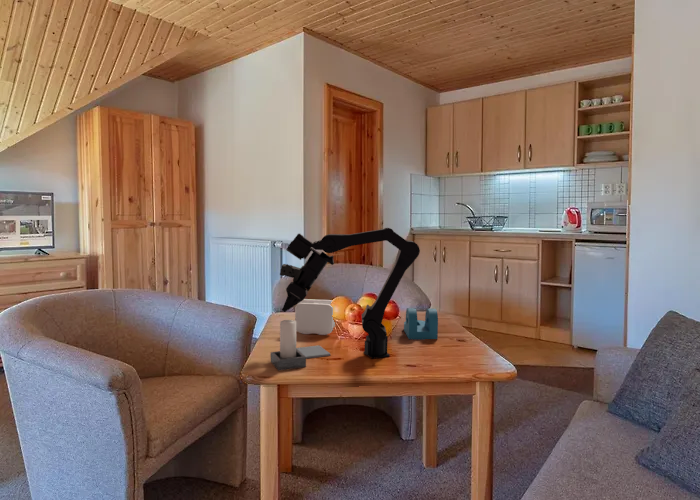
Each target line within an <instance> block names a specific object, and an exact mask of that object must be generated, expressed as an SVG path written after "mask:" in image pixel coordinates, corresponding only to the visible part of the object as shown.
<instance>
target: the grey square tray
mask: <svg viewBox="0 0 700 500" xmlns="http://www.w3.org/2000/svg"><path fill="white" fill-rule="evenodd" d="M270 363H271V364H272V366H274V367H275V369H277V371H278V372H279V371H287V370H294V369H299V368H306V367H307V359H306V357H305V356H304V355H303V354H302V353H301V352H300V351H299V350H297V349H296V357H295V358H287V359H280V350H278V351H271V352H270Z"/></svg>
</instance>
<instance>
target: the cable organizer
mask: <svg viewBox="0 0 700 500" xmlns="http://www.w3.org/2000/svg"><path fill="white" fill-rule="evenodd" d="M332 301H333V300H332V299H331V300H330V299H314V298H313V299H310V298H309V299H308V298H304V300H302V301H301V302H299V303H298V304H296V305H295V307H294V308H295V309H294V311H295V312H294V313H295V314H294V321H296V333H300V334H302V335H311V334H317V335H320V336H328V335H329V334H331V333H332V332H333V330H334V328H335V327H336V325H335V322H334V320H333V317H332V315H333V307H332V306H331V305H330V304H331V302H332Z"/></svg>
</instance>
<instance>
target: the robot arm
mask: <svg viewBox="0 0 700 500" xmlns="http://www.w3.org/2000/svg"><path fill="white" fill-rule="evenodd" d="M378 242H388V243H390V244H391V245H392V246H393V247H395V248H396V249H398V250H397V251H398V252H397V254H396V258H395V262H394V265H393V266H392V268H391V271H390V272H389V274H388V276H387V278H386V280H385V282H384V284H383V286H382V288H381V289H380V292H379V293H378V296H377V297H376V299H375V301H374V302H373V303H372V304H371V305H369V304H366V306H365V310H364V312H362V313H361V326H362V329H363V331H364V332H365V333H367V335H365V340H364V351H363V354H364V355H366V356H367V357H369V358H371V359H379V358H386V357H390V356H391V355H390V353H388V342H389V340H388V339H389V338H388V334H387V329H386V326H385V325H384V324H383V323H382V322H383V320H384V316H385V311H386V308H387V307H388V305H389V303H390V301H391V299H392V298H393V295H394V293H395V292H396V289H397V287H399V284H400V282H401V281H402V278H403V276H404V275H405V273H406V271H407V270H408V269H409V268H410V266H412V265H413V263H414V262H415V261H416V259H417V258H418V257H419V255H420V252H421V249H420V247H419V245H418V243H416V242H414V241H412V240H411V239H410V240H409V239H407V240H406V239H404V237H402V236H401V235H399V234H398V233H397V232H395V231H394V230H393V229H392V228H390V227H384V228H381V229H376V230H375V229H374V230H368V231H363V232H356V233H351V234H350V233H349V234H347V233H345V234H344V233H329V234H326V235H324V236H323V237H322V238H321V239H320V240H318V241H317V240H314V242H312V241H310V240H309V239H308V238H306V237H305V236H304V235H303V234H301V233H300V232H299V233H297V234H296V236H295V237H294V238H293V239H292V241H290V243H289V244H288V246H287V247H286V250H285V251H287V253H290V254H291V255H293V256H294V257H295V258H297V259H298V260H300V261H301V260H303V259H304V260H306V259H307V258H308V259H307V260H306V262H305V263H304V264H303V265H302V266H301V267H297V266H294V265H291V264H288V263H283V264H281V267H280V272H279V276H282V277H289V278H291V279H292V281H290V283H289V284H288V285H287V286H286V288H285V289H286V290H285V291H286V293H287V296H286V300H285V301H284V304H283V307H282V309H281V311H282V312H283V313H286V312H287V311H289V310H290V309H291V308H293V307H294V306H295V307H296V305H297V304H298V303H299V302H301V301H302V300H304V299H306V297H307V296H308V292H309V291H310V289H311V288H312V286H313V285H314V283H315V282H316V280H317V279H318V278H319V276H320V275H321V273H322V271H323V270H324V268H326V266H327V264H329V265H332V266H333V265H334V264H335V261H334V255H328V254H332V253H333V254H334V253H335V252H339V251H341V250H345V249H346V248H350V247H353V246H359V245H364V244H365V245H366V244H372V243H373V244H374V243H378ZM319 251H321V252H319ZM309 255H310V256H309Z"/></svg>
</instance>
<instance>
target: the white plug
mask: <svg viewBox="0 0 700 500" xmlns="http://www.w3.org/2000/svg"><path fill="white" fill-rule="evenodd" d="M296 348H297V331H296V321H295V319H294V320H293V319H284V320H280V322H279V351H280V359H287V358H295V357H296Z"/></svg>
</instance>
